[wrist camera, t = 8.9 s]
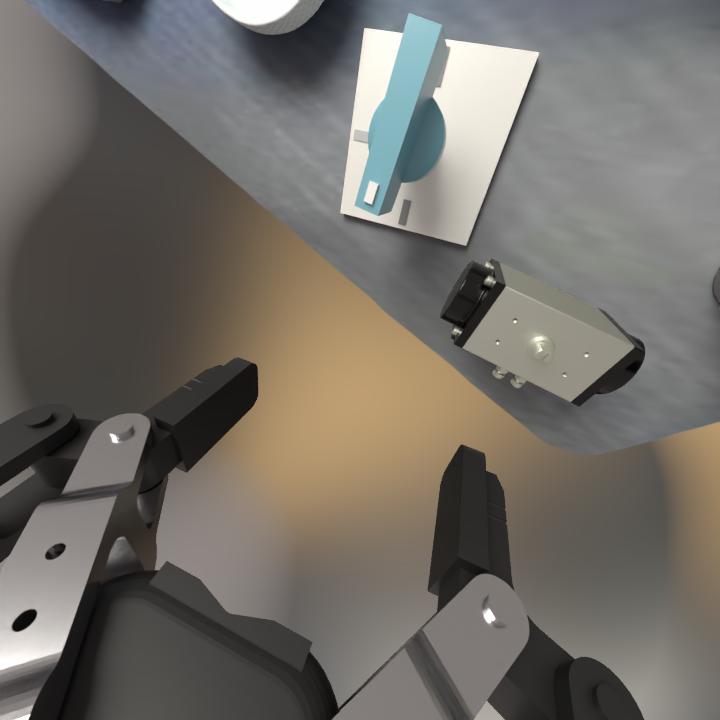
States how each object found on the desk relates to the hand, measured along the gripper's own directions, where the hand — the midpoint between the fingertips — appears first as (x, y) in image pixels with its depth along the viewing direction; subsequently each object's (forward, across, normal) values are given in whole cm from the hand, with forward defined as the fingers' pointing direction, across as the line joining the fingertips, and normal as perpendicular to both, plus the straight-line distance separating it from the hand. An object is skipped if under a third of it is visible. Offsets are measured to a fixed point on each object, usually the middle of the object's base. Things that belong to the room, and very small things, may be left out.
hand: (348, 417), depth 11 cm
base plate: (+36, +6, -10) cm, 38 cm away
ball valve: (+36, -12, +4) cm, 38 cm away
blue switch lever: (+28, +6, -10) cm, 31 cm away
